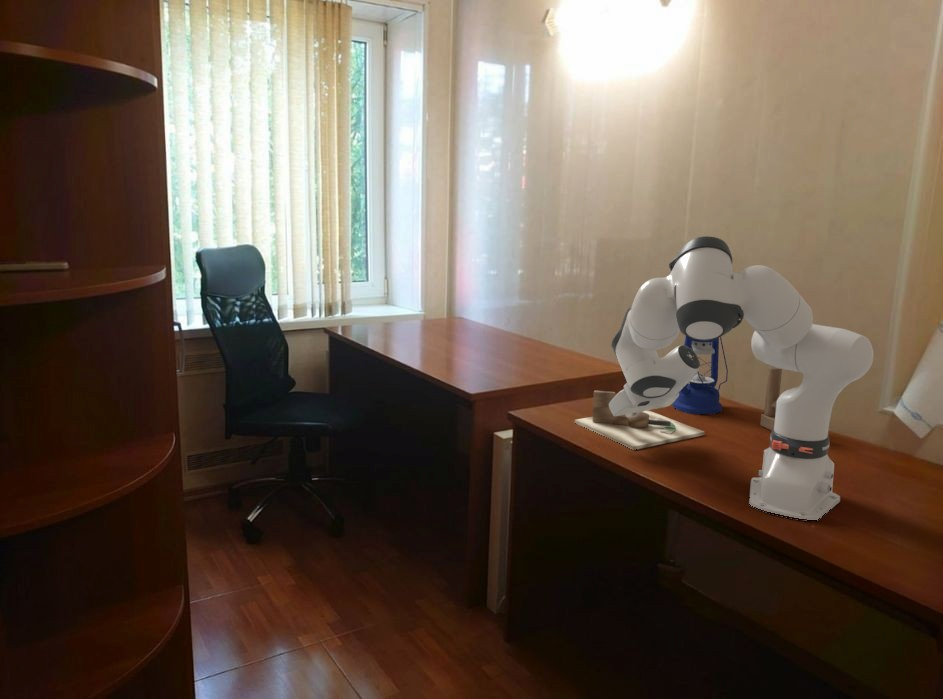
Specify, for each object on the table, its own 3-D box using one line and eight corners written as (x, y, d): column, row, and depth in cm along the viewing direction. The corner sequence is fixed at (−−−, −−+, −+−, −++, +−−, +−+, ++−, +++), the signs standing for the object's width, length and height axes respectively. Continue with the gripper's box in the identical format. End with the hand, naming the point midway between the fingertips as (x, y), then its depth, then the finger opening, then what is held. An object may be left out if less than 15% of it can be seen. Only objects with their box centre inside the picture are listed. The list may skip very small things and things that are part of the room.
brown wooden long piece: (591, 423, 207) (592, 393, 205) (594, 417, 212) (595, 388, 210) (669, 430, 201) (671, 400, 199) (670, 424, 206) (672, 394, 204)
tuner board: (633, 450, 189) (633, 445, 189) (574, 423, 211) (574, 418, 211) (704, 435, 201) (704, 430, 201) (641, 410, 223) (641, 406, 223)
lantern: (695, 397, 238) (702, 309, 231) (734, 409, 225) (742, 316, 219) (660, 406, 229) (665, 314, 222) (698, 418, 216) (705, 321, 210)
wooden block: (784, 437, 199) (791, 375, 195) (759, 425, 209) (765, 366, 206) (795, 436, 200) (802, 374, 196) (770, 424, 210) (776, 365, 206)
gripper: (680, 374, 193) (653, 399, 203) (620, 383, 183) (596, 410, 194) (691, 394, 190) (663, 419, 200) (631, 404, 180) (605, 430, 191)
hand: (629, 414), depth 197 cm, fingers closed
